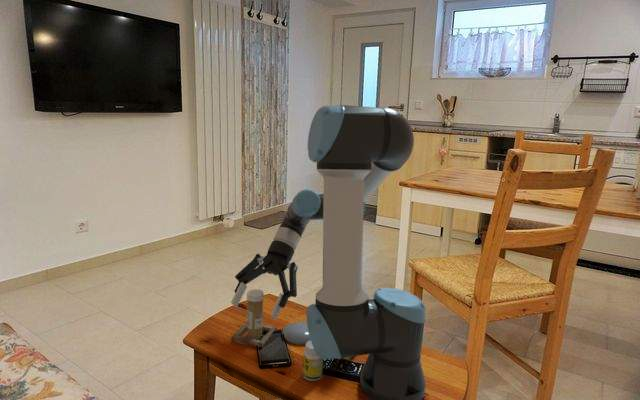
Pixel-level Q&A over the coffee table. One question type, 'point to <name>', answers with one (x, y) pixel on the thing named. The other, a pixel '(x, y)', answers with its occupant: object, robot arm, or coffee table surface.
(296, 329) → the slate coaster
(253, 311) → the sprinkles bottle
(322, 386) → the coffee table surface
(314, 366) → the supplement bottle
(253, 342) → the gray square frame
